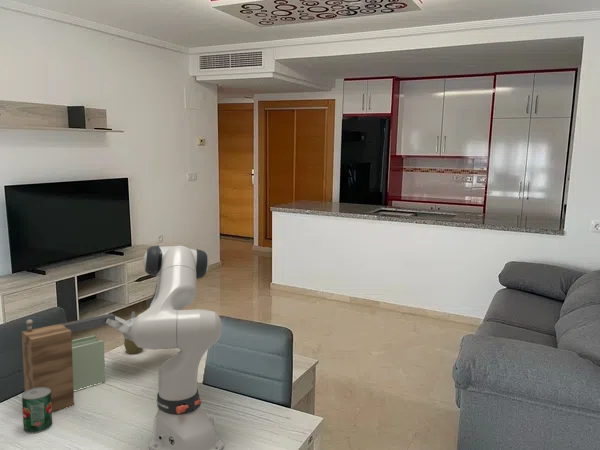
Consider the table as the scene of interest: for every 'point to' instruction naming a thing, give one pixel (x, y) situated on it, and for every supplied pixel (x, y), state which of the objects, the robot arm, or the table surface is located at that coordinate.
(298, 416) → the table surface
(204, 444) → the robot arm
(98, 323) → the strut
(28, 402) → the canned tomato
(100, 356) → the pale green block
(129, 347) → the squeeze bottle
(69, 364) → the tower
